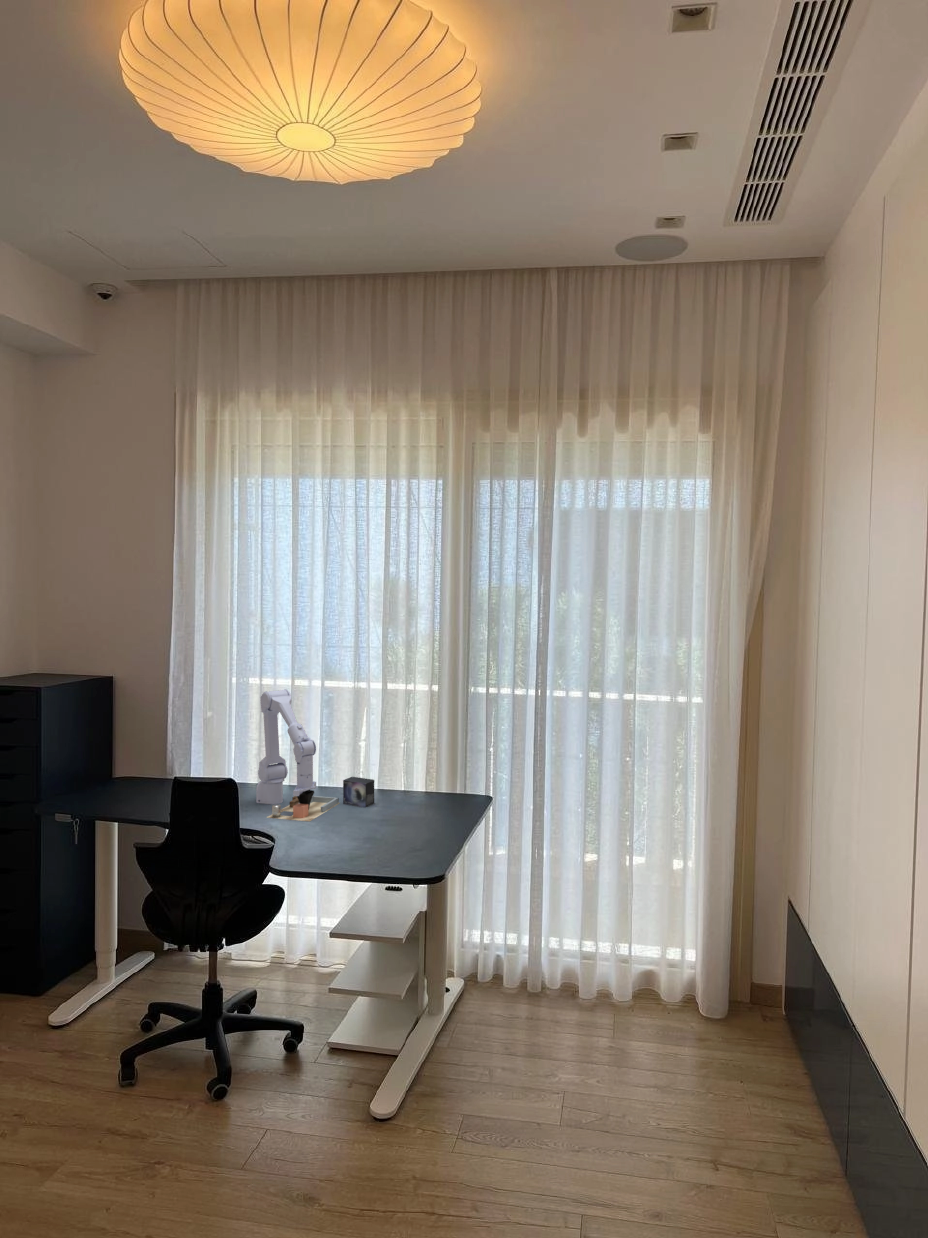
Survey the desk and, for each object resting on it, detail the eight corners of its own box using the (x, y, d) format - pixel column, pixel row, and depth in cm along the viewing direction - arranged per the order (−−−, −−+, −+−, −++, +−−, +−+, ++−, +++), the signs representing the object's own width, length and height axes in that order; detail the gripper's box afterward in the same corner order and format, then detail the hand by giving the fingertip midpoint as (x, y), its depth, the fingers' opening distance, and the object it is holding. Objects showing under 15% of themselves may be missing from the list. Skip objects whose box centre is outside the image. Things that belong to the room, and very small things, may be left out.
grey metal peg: (270, 817, 320) (270, 806, 320) (274, 815, 323) (274, 804, 323) (278, 818, 319) (278, 807, 319) (282, 815, 322) (282, 804, 322)
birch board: (266, 820, 320) (266, 817, 320) (299, 802, 345) (299, 799, 345) (309, 824, 315) (309, 821, 315) (340, 806, 340) (340, 803, 340)
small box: (342, 807, 339) (341, 779, 338) (352, 803, 344) (351, 776, 344) (365, 810, 334) (365, 782, 333) (375, 806, 340) (375, 779, 339)
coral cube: (293, 817, 320) (293, 806, 320) (298, 814, 324) (298, 803, 324) (303, 818, 319) (303, 807, 319) (308, 815, 323) (308, 804, 323)
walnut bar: (284, 806, 334) (284, 801, 334) (294, 801, 342) (294, 796, 342) (294, 807, 333) (294, 802, 333) (304, 802, 341) (304, 797, 341)
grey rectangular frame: (295, 810, 330) (295, 804, 330) (312, 801, 343) (312, 795, 343) (323, 812, 327) (323, 807, 327) (338, 803, 340) (338, 798, 340)
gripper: (305, 779, 316) (306, 817, 317) (323, 770, 330) (323, 807, 331) (287, 777, 318) (288, 815, 319) (306, 769, 332) (306, 805, 333)
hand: (305, 811), depth 325 cm, fingers closed
